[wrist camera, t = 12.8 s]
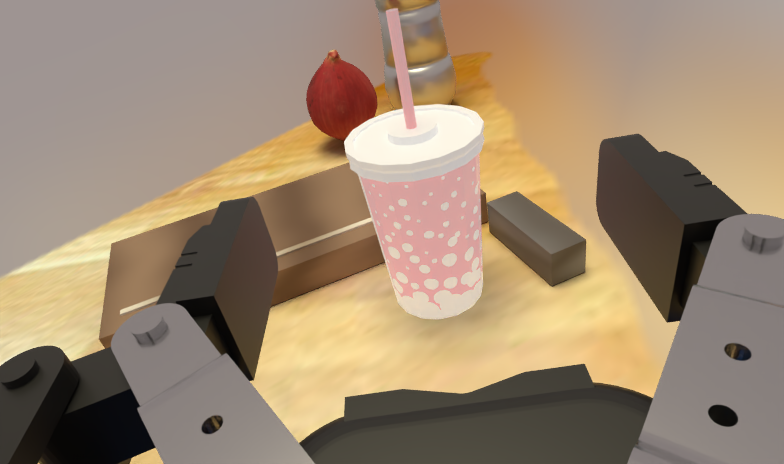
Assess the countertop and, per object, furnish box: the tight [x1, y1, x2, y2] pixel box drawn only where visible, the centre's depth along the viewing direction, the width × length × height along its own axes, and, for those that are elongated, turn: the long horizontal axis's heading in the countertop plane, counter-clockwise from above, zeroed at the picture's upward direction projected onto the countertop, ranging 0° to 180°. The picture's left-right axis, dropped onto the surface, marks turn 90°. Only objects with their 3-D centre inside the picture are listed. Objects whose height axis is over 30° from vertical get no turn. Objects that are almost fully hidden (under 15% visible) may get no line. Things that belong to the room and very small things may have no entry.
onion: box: [306, 50, 377, 141], centre depth 44 cm, size 6×6×8 cm
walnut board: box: [99, 163, 586, 349], centre depth 30 cm, size 24×17×2 cm
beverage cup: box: [344, 8, 484, 319], centre depth 24 cm, size 6×6×14 cm
